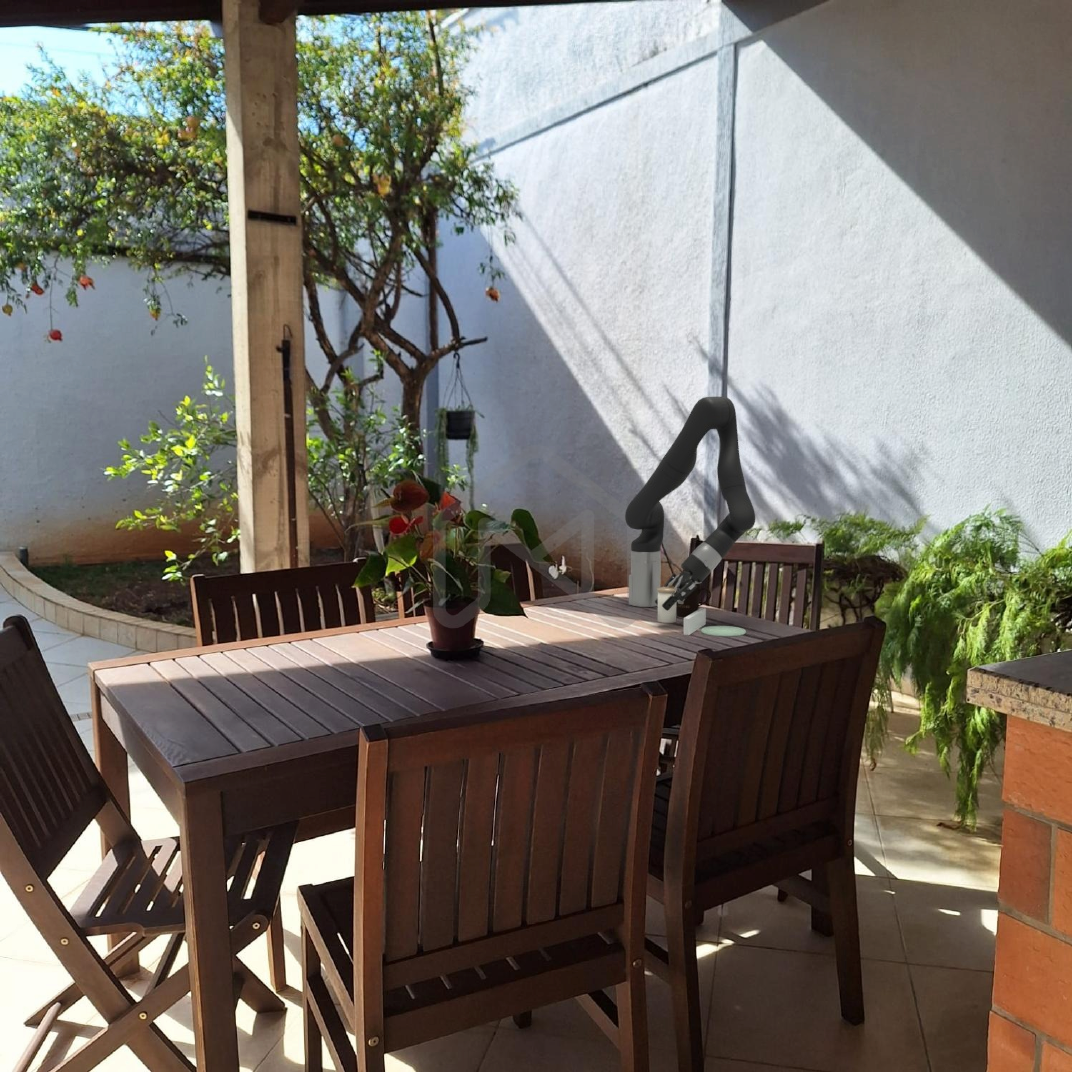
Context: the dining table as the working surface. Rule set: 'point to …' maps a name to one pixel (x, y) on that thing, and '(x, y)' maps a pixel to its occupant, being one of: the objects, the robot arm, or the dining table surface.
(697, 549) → the robot arm
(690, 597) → the coffee mug
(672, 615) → the cream jar
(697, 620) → the grey wall
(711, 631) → the sage pad
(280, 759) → the dining table surface
